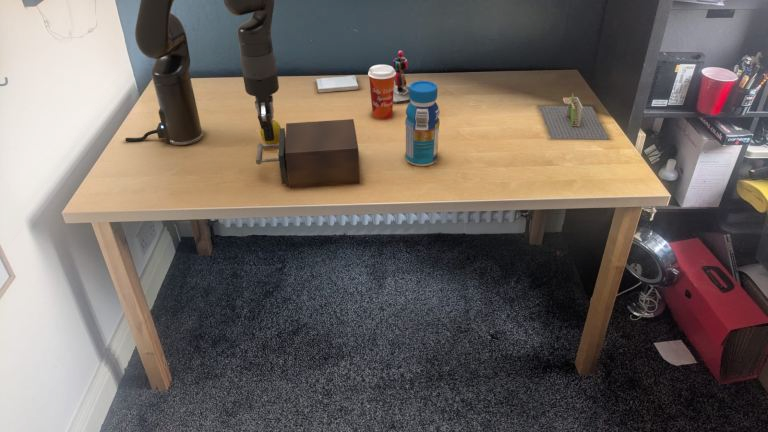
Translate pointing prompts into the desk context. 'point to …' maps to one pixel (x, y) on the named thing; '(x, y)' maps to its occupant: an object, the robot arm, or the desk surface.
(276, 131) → the lemon
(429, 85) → the beverage bottle
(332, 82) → the hard drive
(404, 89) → the statue
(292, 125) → the cabinet
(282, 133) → the drawer
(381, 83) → the paper cup
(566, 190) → the desk surface
